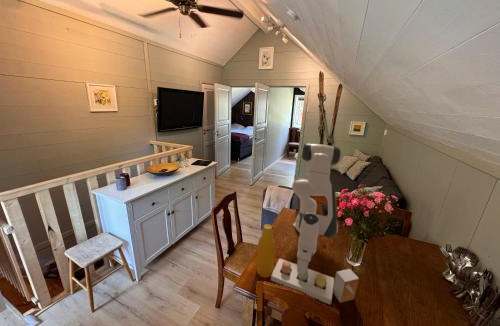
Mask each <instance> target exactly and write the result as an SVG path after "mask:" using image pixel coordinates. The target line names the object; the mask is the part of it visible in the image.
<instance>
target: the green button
mask: <svg viewBox="0 0 500 326" xmlns="http://www.w3.org/2000/svg"><path fill="white" fill-rule="evenodd" d="M307 276H308V270H306V273H305V275H302V274H300V273H298V278H297V279H298V280H301V281H303V282H307V280H308V279H307Z"/></svg>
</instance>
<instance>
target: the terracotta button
mask: <svg viewBox="0 0 500 326" xmlns="http://www.w3.org/2000/svg"><path fill="white" fill-rule="evenodd" d="M287 261H288V260H285V262H283V263H282V271H281V273H283V274H285V275H288V276H289V275H290V270H291V264H290V263H289V262H290V261H288V262H287Z"/></svg>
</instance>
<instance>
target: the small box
mask: <svg viewBox="0 0 500 326" xmlns="http://www.w3.org/2000/svg"><path fill="white" fill-rule="evenodd" d="M359 280H360V278H359V277H358V276H357V274H355V272H354V271H353V270H352V269H351V268H347V269H342V270H339V271H338V270H337V271H336V273H335V278H334V284H333V293H332V295H334V296H335V298H336V299H337V300H338V302H339V303H340V304H342V303H346V302H348V301H353V300H354V299H355V296H356V292H357V288H358V284H359Z"/></svg>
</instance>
